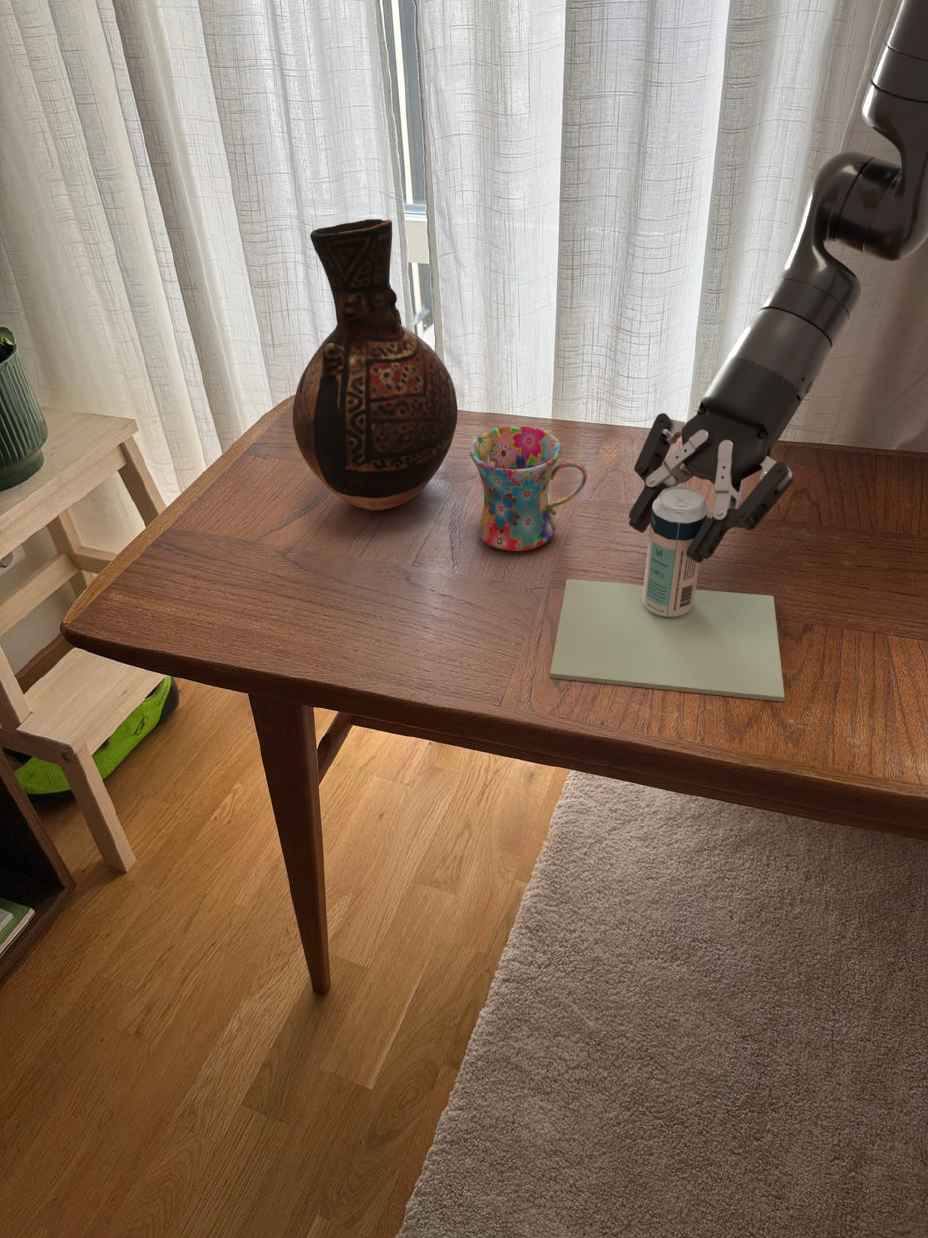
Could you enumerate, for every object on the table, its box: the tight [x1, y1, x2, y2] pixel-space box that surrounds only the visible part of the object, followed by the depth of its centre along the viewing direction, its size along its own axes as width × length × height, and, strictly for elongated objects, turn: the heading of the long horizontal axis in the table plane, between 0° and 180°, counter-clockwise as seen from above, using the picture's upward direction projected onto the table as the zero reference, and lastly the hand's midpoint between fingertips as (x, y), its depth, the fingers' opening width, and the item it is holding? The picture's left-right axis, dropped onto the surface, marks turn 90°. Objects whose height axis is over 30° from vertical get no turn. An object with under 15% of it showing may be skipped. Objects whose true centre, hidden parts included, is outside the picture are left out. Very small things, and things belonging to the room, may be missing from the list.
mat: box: [549, 578, 786, 703], centre depth 82 cm, size 20×14×1 cm
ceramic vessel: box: [292, 218, 458, 511], centre depth 95 cm, size 21×18×30 cm
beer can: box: [642, 485, 709, 617], centre depth 81 cm, size 5×5×12 cm
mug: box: [469, 425, 588, 552], centre depth 93 cm, size 12×9×11 cm
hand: (663, 543), depth 79 cm, fingers open, 6 cm apart
